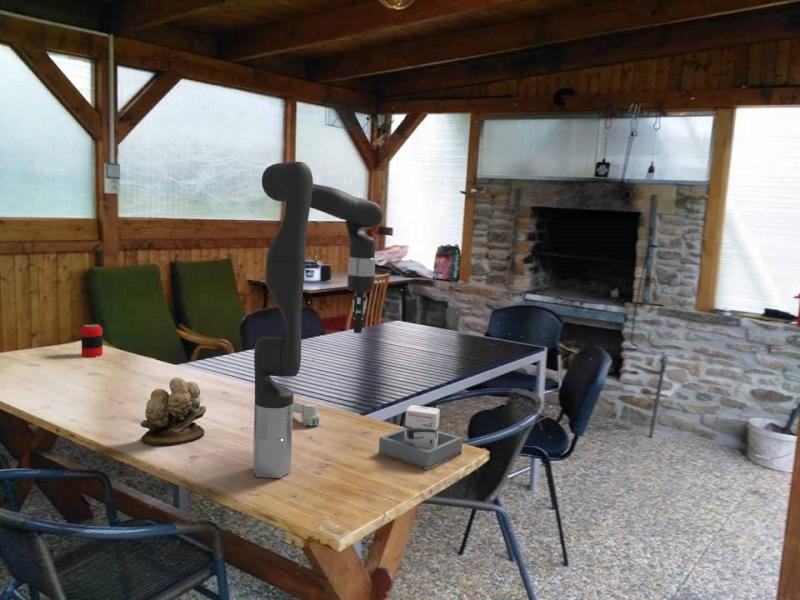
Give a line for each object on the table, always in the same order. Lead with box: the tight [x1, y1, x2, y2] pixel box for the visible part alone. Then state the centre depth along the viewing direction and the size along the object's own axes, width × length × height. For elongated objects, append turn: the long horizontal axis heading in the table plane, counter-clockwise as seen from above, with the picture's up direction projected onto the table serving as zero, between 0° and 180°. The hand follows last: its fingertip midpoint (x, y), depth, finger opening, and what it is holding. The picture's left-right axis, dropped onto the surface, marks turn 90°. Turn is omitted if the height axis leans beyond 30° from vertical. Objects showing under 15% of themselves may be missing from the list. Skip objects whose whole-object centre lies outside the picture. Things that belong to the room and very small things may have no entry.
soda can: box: [81, 323, 104, 358], centre depth 276 cm, size 8×8×12 cm
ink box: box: [404, 404, 441, 451], centre depth 188 cm, size 8×5×12 cm, turn 77°
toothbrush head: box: [293, 399, 321, 427], centre depth 215 cm, size 5×7×25 cm
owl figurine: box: [140, 377, 207, 447], centre depth 190 cm, size 18×12×17 cm, turn 133°
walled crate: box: [378, 427, 463, 470], centre depth 189 cm, size 16×16×4 cm
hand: (358, 330), depth 199 cm, fingers open, 8 cm apart
